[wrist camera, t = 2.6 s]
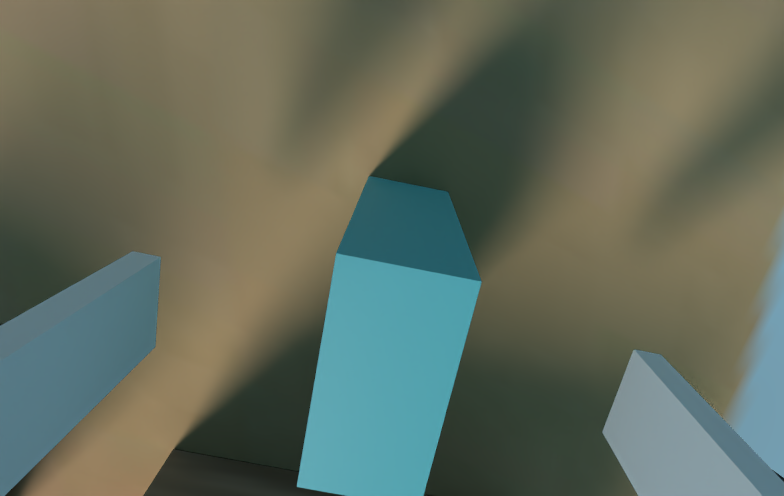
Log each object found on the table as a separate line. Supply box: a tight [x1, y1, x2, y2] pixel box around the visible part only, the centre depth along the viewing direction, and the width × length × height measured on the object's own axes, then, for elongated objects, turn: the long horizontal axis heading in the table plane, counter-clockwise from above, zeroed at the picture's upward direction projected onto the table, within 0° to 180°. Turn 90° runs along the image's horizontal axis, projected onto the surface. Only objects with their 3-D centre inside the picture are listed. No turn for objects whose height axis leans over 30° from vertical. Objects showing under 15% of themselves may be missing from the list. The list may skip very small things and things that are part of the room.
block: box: [297, 176, 482, 496], centre depth 15 cm, size 6×3×9 cm, turn 169°
